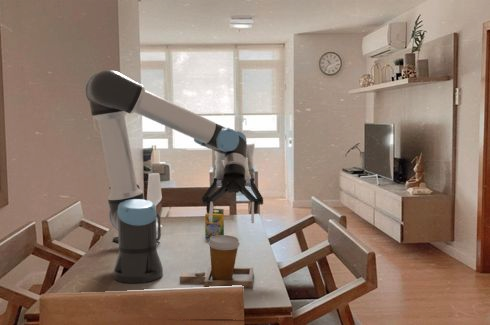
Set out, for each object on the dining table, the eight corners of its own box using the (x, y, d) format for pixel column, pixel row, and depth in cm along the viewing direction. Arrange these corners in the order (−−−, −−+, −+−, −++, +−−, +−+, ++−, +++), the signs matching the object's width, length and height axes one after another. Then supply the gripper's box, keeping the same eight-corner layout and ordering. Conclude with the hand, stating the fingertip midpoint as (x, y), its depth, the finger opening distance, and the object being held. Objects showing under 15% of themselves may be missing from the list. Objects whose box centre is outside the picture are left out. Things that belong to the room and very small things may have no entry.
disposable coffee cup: (233, 284, 155) (235, 245, 154) (202, 280, 157) (204, 241, 156) (240, 273, 165) (242, 236, 163) (211, 269, 167) (213, 233, 165)
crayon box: (205, 237, 217) (204, 209, 216) (207, 235, 219) (207, 208, 218) (222, 238, 215) (221, 210, 214) (224, 236, 218) (223, 209, 217)
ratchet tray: (176, 287, 154) (176, 279, 153) (184, 273, 168) (184, 266, 167) (252, 288, 153) (252, 280, 153) (253, 273, 167) (253, 266, 167)
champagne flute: (144, 226, 237) (143, 174, 235) (154, 224, 243) (153, 172, 241) (155, 228, 234) (154, 175, 231) (165, 225, 239) (164, 173, 237)
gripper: (270, 176, 184) (270, 227, 171) (199, 175, 186) (194, 226, 172) (270, 162, 179) (270, 214, 165) (197, 162, 180) (191, 213, 166)
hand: (231, 220), depth 169 cm, fingers open, 13 cm apart
